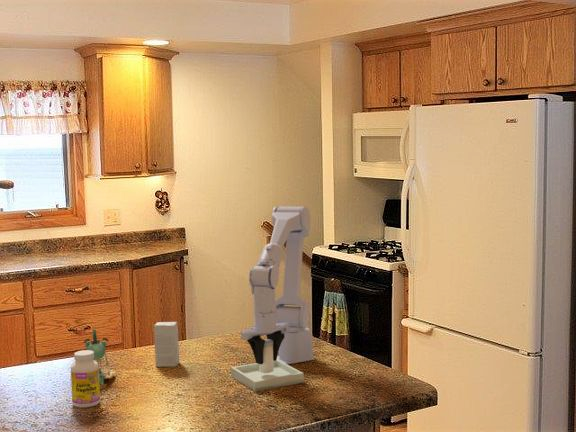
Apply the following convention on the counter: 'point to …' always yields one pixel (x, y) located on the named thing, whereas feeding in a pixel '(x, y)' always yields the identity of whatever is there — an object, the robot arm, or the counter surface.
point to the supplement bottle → (85, 380)
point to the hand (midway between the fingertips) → (266, 361)
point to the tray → (267, 376)
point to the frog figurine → (99, 357)
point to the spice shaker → (267, 357)
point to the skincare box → (166, 344)
